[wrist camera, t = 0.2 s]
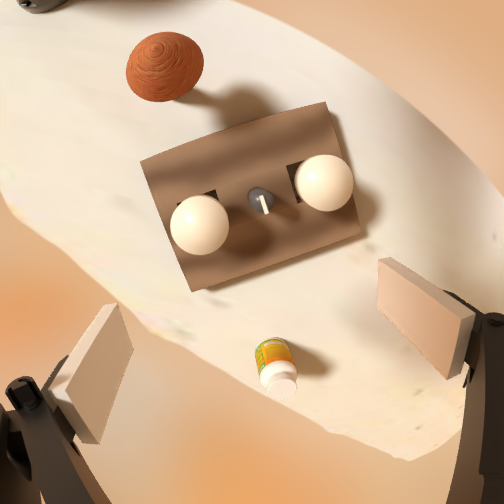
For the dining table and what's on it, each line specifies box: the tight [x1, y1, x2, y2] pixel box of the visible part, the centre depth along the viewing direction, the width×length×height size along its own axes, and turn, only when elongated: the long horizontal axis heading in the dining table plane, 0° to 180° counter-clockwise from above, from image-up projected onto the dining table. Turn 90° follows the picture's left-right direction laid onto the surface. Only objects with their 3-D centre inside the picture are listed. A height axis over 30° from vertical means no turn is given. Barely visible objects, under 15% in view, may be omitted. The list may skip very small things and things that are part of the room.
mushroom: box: [126, 32, 204, 102], centre depth 28 cm, size 8×8×15 cm
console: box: [140, 102, 361, 292], centre depth 39 cm, size 18×24×3 cm
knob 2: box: [295, 155, 354, 211], centre depth 34 cm, size 6×6×6 cm
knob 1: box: [170, 195, 229, 255], centre depth 34 cm, size 6×6×6 cm
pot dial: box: [247, 187, 274, 214], centre depth 35 cm, size 2×2×5 cm
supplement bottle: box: [255, 337, 297, 400], centre depth 43 cm, size 5×5×10 cm
